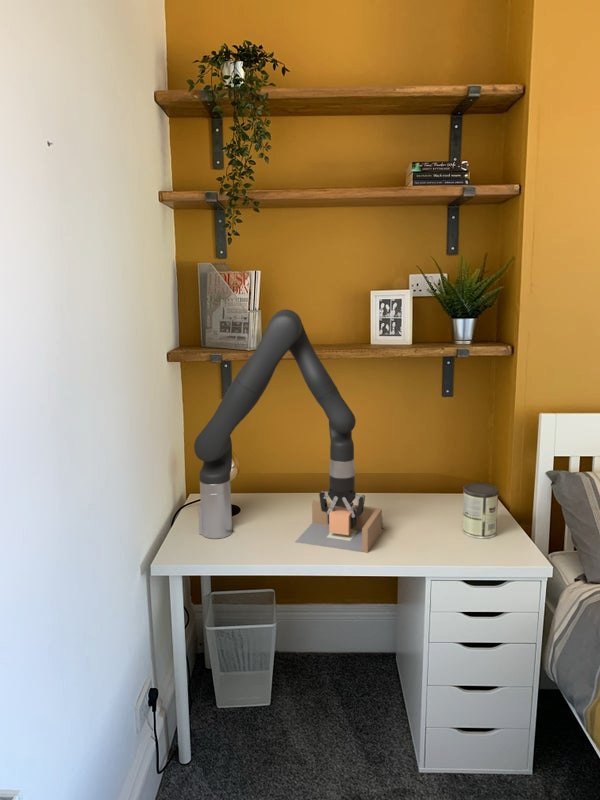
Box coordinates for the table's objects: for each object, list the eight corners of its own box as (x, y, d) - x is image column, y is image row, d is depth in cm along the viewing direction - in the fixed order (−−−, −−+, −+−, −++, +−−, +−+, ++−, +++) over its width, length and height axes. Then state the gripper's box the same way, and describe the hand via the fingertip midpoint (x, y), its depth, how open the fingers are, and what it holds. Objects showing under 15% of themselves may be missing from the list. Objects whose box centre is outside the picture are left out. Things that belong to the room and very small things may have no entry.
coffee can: (468, 523, 198) (470, 480, 195) (500, 530, 192) (503, 486, 189) (456, 534, 189) (458, 490, 187) (490, 541, 184) (492, 496, 181)
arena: (294, 545, 183) (294, 519, 181) (314, 523, 199) (313, 500, 197) (367, 556, 175) (367, 529, 174) (381, 533, 191) (381, 508, 189)
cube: (329, 532, 186) (329, 513, 185) (335, 525, 191) (335, 506, 190) (348, 535, 184) (348, 516, 183) (354, 527, 189) (354, 509, 188)
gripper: (314, 474, 183) (315, 528, 187) (362, 479, 178) (361, 534, 181) (323, 467, 190) (323, 519, 193) (368, 471, 185) (368, 524, 188)
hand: (341, 526), depth 187 cm, fingers closed on cube, 6 cm apart
